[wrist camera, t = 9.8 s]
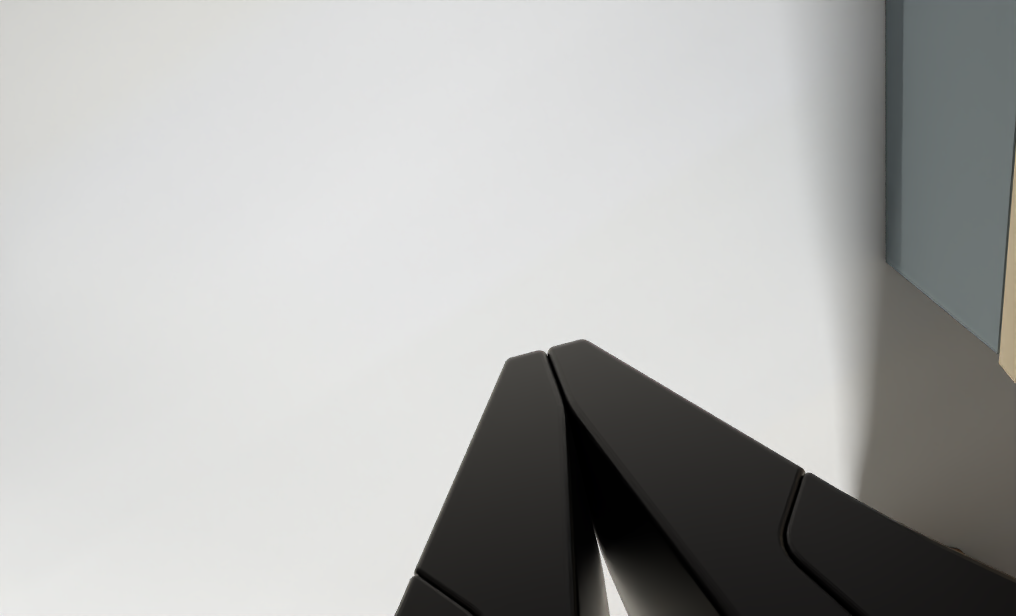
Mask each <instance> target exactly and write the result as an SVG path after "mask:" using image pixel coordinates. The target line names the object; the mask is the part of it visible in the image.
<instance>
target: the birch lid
mask: <svg viewBox="0 0 1016 616" xmlns="http://www.w3.org/2000/svg"><path fill="white" fill-rule="evenodd" d="M999 364H1000V365H1001V367H1002V368H1003V369H1004V370H1005V371H1006V373H1007V374H1008V375H1009V376H1010V378H1011V379H1012V380H1013V381H1014V382H1015V383H1016V152H1015V165H1014V177H1013V190H1012V203H1011V215H1010V228H1009V241H1008V253H1007V266H1006V278H1005V291H1004V304H1003V316H1002V329H1001V342H1000V354H999Z"/></svg>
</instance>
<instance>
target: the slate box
mask: <svg viewBox="0 0 1016 616" xmlns="http://www.w3.org/2000/svg"><path fill="white" fill-rule="evenodd" d="M1015 152H1016V0H886V262H887V263H888V264H889V265H890V266H891V267H893V268H894V269H895V270H896V271H898V272H899V273H900V274H901V275H902V276H904V277H905V278H906V279H907V280H908V281H910V282H911V283H912V284H913V285H914V286H916V287H917V288H918V289H919V290H921V291H922V292H923V293H924V294H925V295H927V296H928V297H929V298H930V299H931V300H933V301H934V302H935V303H936V304H937V305H939V306H940V307H941V308H942V309H944V310H945V311H946V312H947V313H948V314H950V315H951V316H952V317H953V318H954V319H956V320H957V321H958V322H959V323H960V324H962V325H963V326H964V327H965V328H967V329H968V330H969V331H970V332H971V333H973V334H974V335H975V336H976V337H977V338H979V339H980V340H981V341H982V342H983V343H985V344H986V345H987V346H988V347H990V348H991V349H992V350H993V351H994V352H996V353H997V354H998V353H1000V342H1001V329H1002V316H1003V304H1004V291H1005V278H1006V266H1007V253H1008V241H1009V228H1010V215H1011V203H1012V190H1013V177H1014V165H1015Z"/></svg>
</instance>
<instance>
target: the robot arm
mask: <svg viewBox="0 0 1016 616" xmlns="http://www.w3.org/2000/svg"><path fill="white" fill-rule="evenodd" d="M547 354H548V356H547ZM547 354H546V353H545V352H544V351H534V352H531V353H527V354H523V355H519V356H515V357H511V358H509V359H508V360H507V361H506V362H505V364H504V367H503V369H502V371H501V374H500V376H499V378H498V380H497V383H496V385H495V387H494V390H493V392H492V394H491V397H490V399H489V401H488V403H487V406H486V408H485V410H484V413H483V415H482V417H481V419H480V422H479V424H478V426H477V429H476V431H475V433H474V436H473V438H472V440H471V442H470V445H469V447H468V449H467V452H466V454H465V456H464V459H463V461H462V463H461V465H460V468H459V470H458V472H457V475H456V477H455V479H454V481H453V484H452V486H451V488H450V491H449V493H448V495H447V498H446V500H445V502H444V504H443V507H442V509H441V511H440V514H439V516H438V518H437V520H436V523H435V525H434V527H433V530H432V532H431V534H430V537H429V539H428V541H427V543H426V546H425V548H424V550H423V553H422V555H421V557H420V559H419V562H418V564H417V566H416V569H415V571H414V575H415V576H413V577H412V578H411V579H410V581H409V584H408V586H407V588H406V591H405V593H404V595H403V598H402V600H401V602H400V605H399V607H398V609H397V611H396V613H395V615H394V616H610V614H609V607H608V601H607V594H606V587H605V581H604V574H603V569H602V563H601V558H600V553H599V548H598V544H599V547H600V550H601V553H602V555H603V558H604V560H605V563H606V565H607V568H608V570H609V573H610V575H611V577H612V579H613V582H614V584H615V586H616V588H617V591H618V593H619V595H620V598H621V600H622V602H623V604H624V607H625V609H626V611H627V613H628V616H1016V578H1014V577H1012V576H1010V575H1008V574H1006V573H1003V572H1001V571H999V570H997V569H995V568H993V567H991V566H988V565H986V564H984V563H982V562H980V561H978V560H975V559H973V558H971V557H969V556H967V555H965V554H962V553H960V552H958V551H956V550H954V549H952V548H950V547H948V546H946V545H944V544H942V543H940V542H938V541H936V540H933V539H931V538H929V537H927V536H925V535H923V534H921V533H919V532H917V531H915V530H913V529H911V528H909V527H907V526H905V525H903V524H901V523H899V522H897V521H895V520H893V519H891V518H889V517H887V516H885V515H884V514H882V513H880V512H878V511H876V510H875V509H873V508H871V507H869V506H867V505H866V504H864V503H862V502H860V501H858V500H857V499H855V498H853V497H851V496H849V495H848V494H846V493H844V492H842V491H841V490H839V489H837V488H835V487H834V486H832V485H830V484H829V483H827V482H825V481H824V480H822V479H820V478H819V477H817V476H815V475H814V474H812V473H806V474H805V471H804V470H803V468H801V467H799V466H798V465H796V464H794V463H793V462H791V461H789V460H788V459H786V458H784V457H783V456H781V455H779V454H778V453H776V452H774V451H773V450H771V449H769V448H768V447H766V446H764V445H762V444H761V443H759V442H757V441H756V440H754V439H752V438H751V437H749V436H747V435H746V434H744V433H742V432H741V431H739V430H737V429H736V428H734V427H732V426H730V425H729V424H727V423H725V422H724V421H722V420H720V419H719V418H717V417H715V416H714V415H712V414H710V413H709V412H707V411H705V410H704V409H702V408H700V407H699V406H697V405H695V404H693V403H692V402H690V401H688V400H687V399H685V398H683V397H682V396H680V395H678V394H677V393H675V392H673V391H672V390H670V389H668V388H667V387H665V386H663V385H662V384H660V383H658V382H656V381H655V380H653V379H651V378H650V377H648V376H646V375H645V374H643V373H641V372H640V371H638V370H636V369H635V368H633V367H631V366H630V365H628V364H626V363H625V362H623V361H621V360H619V359H618V358H616V357H614V356H613V355H611V354H609V353H608V352H606V351H604V350H603V349H601V348H599V347H598V346H596V345H594V344H593V343H591V342H589V341H587V340H584V339H581V340H576V341H573V342H569V343H565V344H561V345H557V346H554V347H552V348H550V349H549V350H548V353H547ZM596 538H597V540H596ZM597 541H598V544H597Z"/></svg>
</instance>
